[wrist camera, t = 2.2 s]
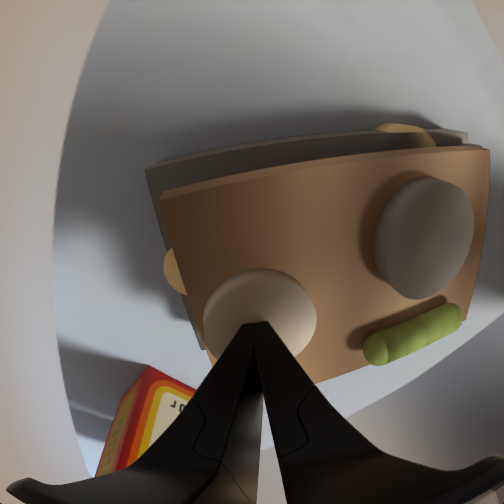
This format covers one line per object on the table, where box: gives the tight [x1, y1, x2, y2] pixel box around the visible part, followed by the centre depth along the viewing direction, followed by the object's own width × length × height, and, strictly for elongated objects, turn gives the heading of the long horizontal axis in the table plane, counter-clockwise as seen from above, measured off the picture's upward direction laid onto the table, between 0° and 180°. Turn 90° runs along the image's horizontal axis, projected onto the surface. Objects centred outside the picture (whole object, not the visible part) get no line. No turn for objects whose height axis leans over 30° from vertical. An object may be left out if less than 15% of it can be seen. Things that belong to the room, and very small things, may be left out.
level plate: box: [159, 143, 490, 398], centre depth 10 cm, size 14×9×3 cm, turn 100°
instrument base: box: [145, 123, 468, 350], centre depth 14 cm, size 16×11×2 cm
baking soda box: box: [95, 365, 196, 477], centre depth 15 cm, size 10×6×16 cm
